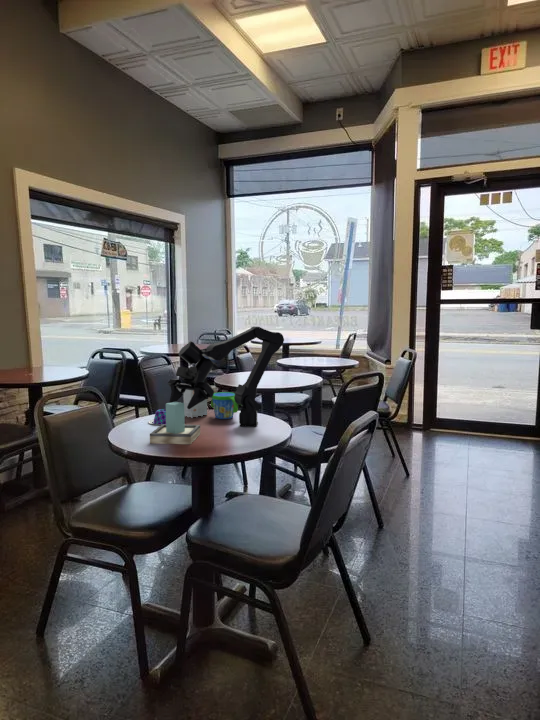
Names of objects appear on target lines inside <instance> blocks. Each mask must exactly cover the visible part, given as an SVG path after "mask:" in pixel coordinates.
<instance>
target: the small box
mask: <svg viewBox="0 0 540 720" xmlns="http://www.w3.org/2000/svg"><path fill="white" fill-rule="evenodd" d="M182 394H183V403H184V415H185V417H186V416H187V417H186V418H189V417H191V418H190V419H194V418H193V417H196V418H199V417H198V416H201V417H204V416H203V415H207V416H208V399H206V400H204V401H202V402H200V403H198V404H197V405H195V406H194V407H192V408H191V409H188V408H187V406H188V404H189V402H190V400H191V398H192V396H193V395H194V391H192V390H186V391H185V392H184V393H182Z"/></svg>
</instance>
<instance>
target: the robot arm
mask: <svg viewBox="0 0 540 720" xmlns="http://www.w3.org/2000/svg"><path fill="white" fill-rule="evenodd" d="M255 339H258V340H260V341H262V343H261V351H260V353H259V355H258V357H257V359H256V361H255V363H254V365H253V367H252V369H251V372H250V373H249V375H248V377H247V379H246V381H245V383H244V384H238V386H237V387H236V390H235V392H233V393H234V394H235V396H234V399H235V402H236V403H237V405H238V409H240V412H239V415H238V424H239V426H240V427H255V428H256V427H258V424H259V422H258V412H259V411H260V408H261V404H260V403H259V402H257V401H256V398H257V390H258V386H259V383H260V382H261V380H262V378H263V376H264V373H265V371H266V369H267V367H268V365H269V363H270V362H271V360H272V358H273V356H274V355H275V354H276V353H277V352H278V351H279V350H280V349H281V347H282V346H283V345H284V342H285V338H284V335H283V334H282V333H281V332H279V331H270V330H268V329H265V328H262V327H260V326H251V327H250V328H249V329H246V330H244V331H241V333H239V334H236V335H235V336H232V337H230V338H229V339H227V340H224V341H219V342H215V343H211V344H209V345H207V347H206V348H202V349H201V348H199V347H198V346H197V344H196V343H194V341H193V340H190V341H189V342H188V343H186V344H185V345H184V346H182V348H180V350H179V352H178V356H179V357H180V358H182V359H183V360H184V361H185V362H186V363H188V364H189V365H195V366H190V367H187V366H186V367H184V366H177V369H176V371H175V372H176V373H175V376H176V377H180V378H182V381H181V380H180V379H177V378H170V379H169V381H168V382H167V385H168V387H169V388H170V389H171V390H170V392H171V394H170V398H169V402H168V403H171V402H178V401H179V399H181V398H182V397H184V395H183V393H184V392H185V391H186V390H192V391H194V395H193V396H192V398H191V400H190V402H189V404H188V406H187V408H188V409H191V408H192V407H194V406H195V405H197V404H198V403H200V402H202V401H204V400H206V399H207V400H208V399H209V398H210V399H212V396H213V394H214V393H215V390H214V388H212V386H211V385H210V384H209V382H208V376H209V374H210V373H211V371H216V370H219V366H218V363H217V362H213V361H221V360H223V359H224V358H225V357H227V356H228V355H230V353H232V351H233V350H236V349H237V348H239V347H241V346H242V345H244V344H247V343H249V342H250V341H251V342H252V341H253V340H255ZM212 360H213V361H212ZM183 382H184V383H183Z"/></svg>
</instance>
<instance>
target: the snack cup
mask: <svg viewBox="0 0 540 720" xmlns="http://www.w3.org/2000/svg"><path fill="white" fill-rule="evenodd" d="M234 393H235V392H231V391H230V392H229V391H222V392H219V391H218V392H214V394H213V396H212V398H211V401H210V406H211V408H213V410H214V411H213V412H214V413H213V414H214V417H215V419H218V420H219V419H220V420H230V419H232V418H233V417H234V414H235V413H238V411H239V406H238V404H237V403H236V402H235V399H234V396H235V394H234Z"/></svg>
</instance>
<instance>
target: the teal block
mask: <svg viewBox="0 0 540 720" xmlns="http://www.w3.org/2000/svg"><path fill="white" fill-rule="evenodd" d="M165 409H166V432H169V433H174V434H176V433H180V432H184V431H185V425H186V423H185V417H186V416H185V415H184V402H181V401H180V402H178V401H176V402H171V403H169V402H167V403H165Z"/></svg>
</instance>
